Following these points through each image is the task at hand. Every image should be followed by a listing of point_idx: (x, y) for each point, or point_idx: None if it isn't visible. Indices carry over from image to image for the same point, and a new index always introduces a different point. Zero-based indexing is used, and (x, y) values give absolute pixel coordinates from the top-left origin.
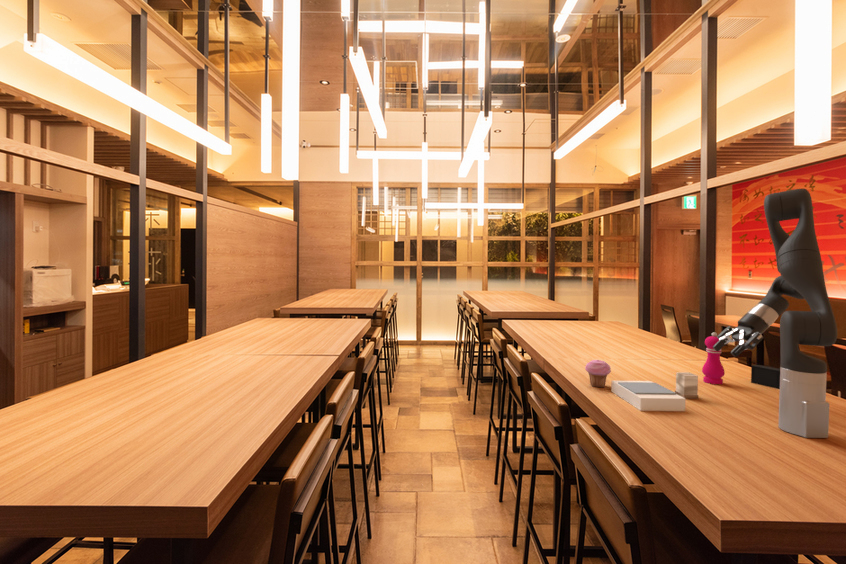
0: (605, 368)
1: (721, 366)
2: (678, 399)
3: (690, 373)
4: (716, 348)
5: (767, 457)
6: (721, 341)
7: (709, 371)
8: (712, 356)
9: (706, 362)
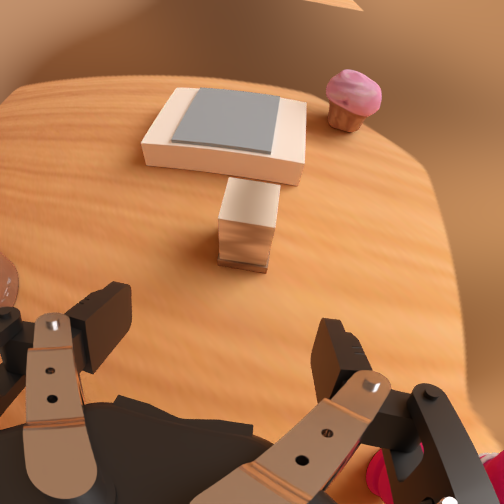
0: (331, 84)
1: None
2: (147, 133)
3: (256, 218)
4: (317, 340)
5: (5, 158)
6: (335, 376)
7: None
8: None
9: None
